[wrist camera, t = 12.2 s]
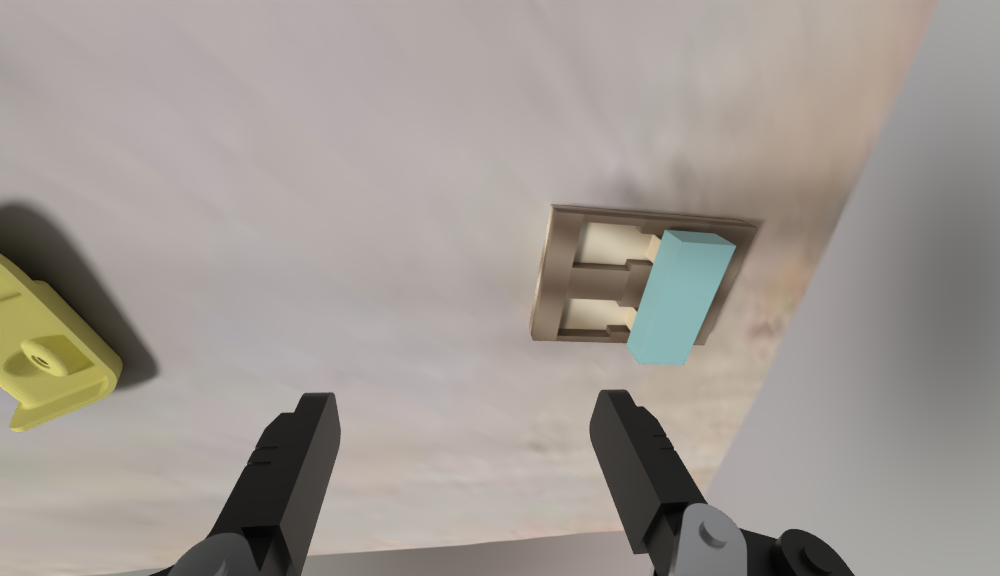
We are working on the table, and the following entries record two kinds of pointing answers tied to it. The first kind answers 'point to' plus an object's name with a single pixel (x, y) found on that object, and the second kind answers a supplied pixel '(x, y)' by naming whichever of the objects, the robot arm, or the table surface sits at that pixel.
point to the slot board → (612, 270)
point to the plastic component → (48, 352)
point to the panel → (676, 295)
